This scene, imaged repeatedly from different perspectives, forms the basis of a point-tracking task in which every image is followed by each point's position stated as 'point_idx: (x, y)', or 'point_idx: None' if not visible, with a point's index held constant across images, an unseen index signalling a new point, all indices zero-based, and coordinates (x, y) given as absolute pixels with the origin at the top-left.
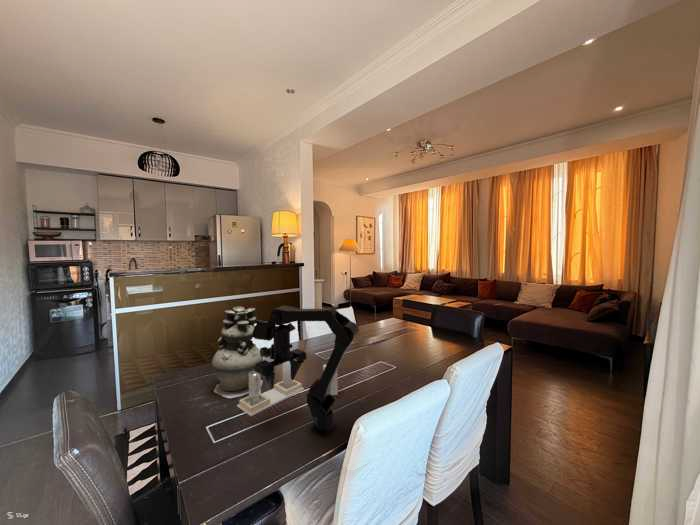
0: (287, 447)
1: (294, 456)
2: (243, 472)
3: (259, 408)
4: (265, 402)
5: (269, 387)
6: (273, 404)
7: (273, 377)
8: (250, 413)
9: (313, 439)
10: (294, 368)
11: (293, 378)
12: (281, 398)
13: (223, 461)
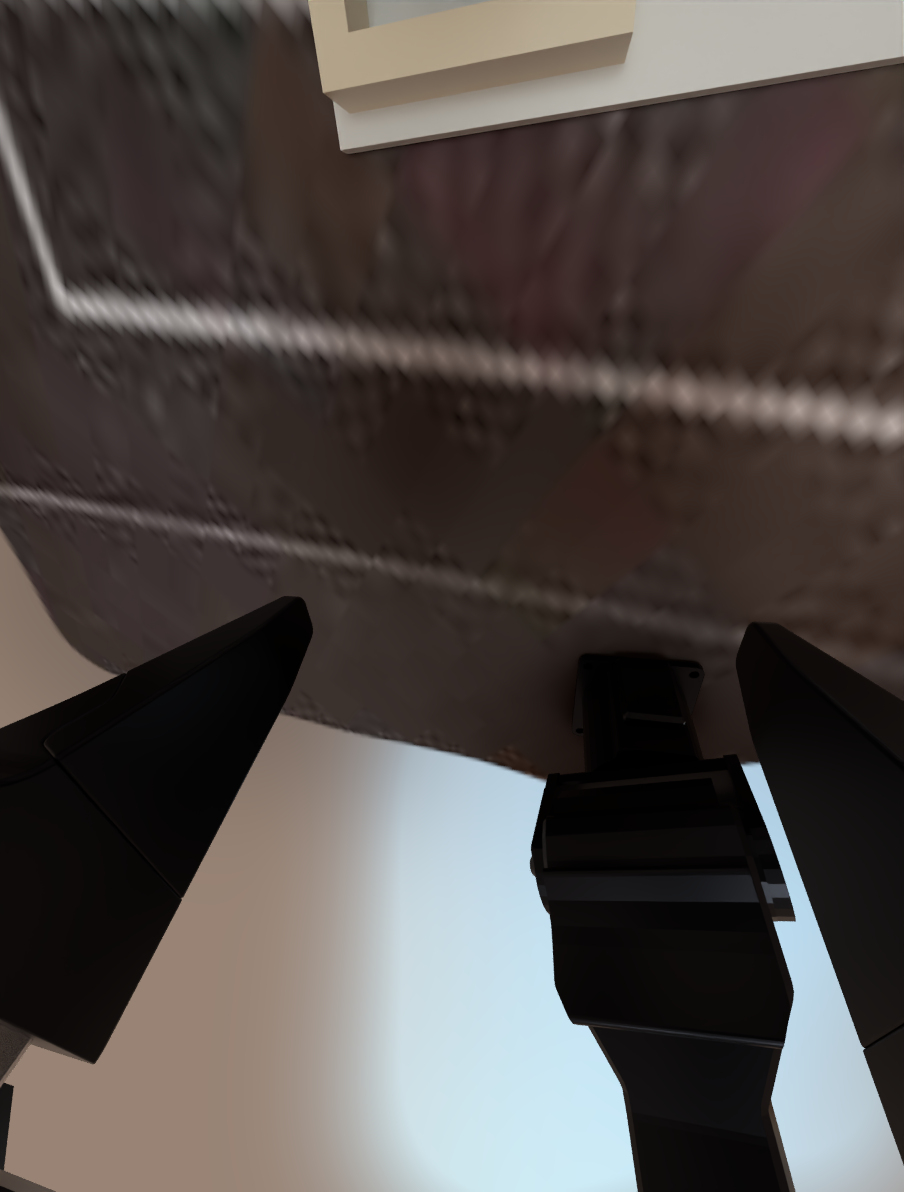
0: (406, 654)
1: (401, 703)
2: (207, 622)
3: (455, 91)
4: (544, 55)
5: (267, 609)
6: (650, 102)
7: (156, 910)
8: (345, 109)
9: (528, 704)
10: (879, 954)
11: (746, 700)
12: (831, 32)
13: (130, 510)
